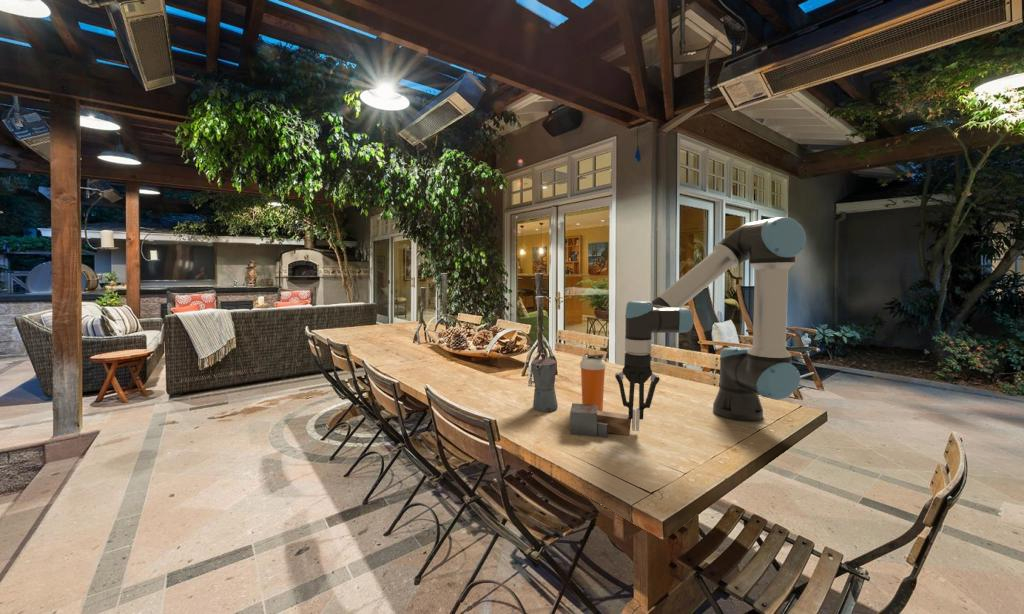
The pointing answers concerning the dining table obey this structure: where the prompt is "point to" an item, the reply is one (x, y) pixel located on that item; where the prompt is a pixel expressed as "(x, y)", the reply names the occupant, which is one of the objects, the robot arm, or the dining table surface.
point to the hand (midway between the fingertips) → (635, 429)
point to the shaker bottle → (593, 379)
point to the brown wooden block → (615, 422)
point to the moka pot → (544, 384)
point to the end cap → (586, 421)
